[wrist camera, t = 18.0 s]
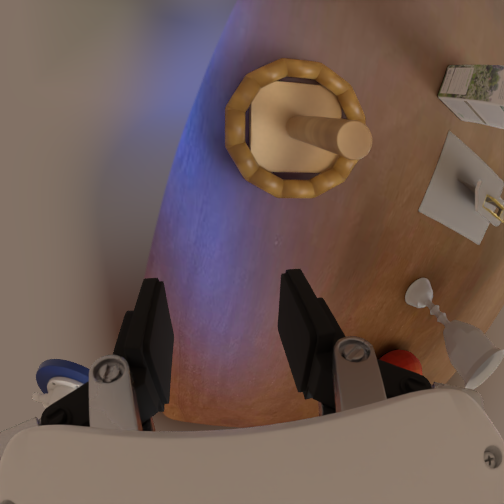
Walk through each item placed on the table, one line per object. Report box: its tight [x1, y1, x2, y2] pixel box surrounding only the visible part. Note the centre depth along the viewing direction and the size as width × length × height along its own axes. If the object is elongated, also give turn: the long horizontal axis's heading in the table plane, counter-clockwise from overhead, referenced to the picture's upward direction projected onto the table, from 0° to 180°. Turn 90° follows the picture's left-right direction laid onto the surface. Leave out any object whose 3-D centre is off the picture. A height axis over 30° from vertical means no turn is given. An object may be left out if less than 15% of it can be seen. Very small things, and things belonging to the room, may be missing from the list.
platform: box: [418, 131, 504, 245], centre depth 30 cm, size 12×18×7 cm, turn 71°
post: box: [249, 81, 372, 173], centre depth 21 cm, size 9×9×13 cm
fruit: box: [380, 350, 422, 375], centre depth 42 cm, size 10×10×10 cm
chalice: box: [405, 278, 504, 389], centre depth 31 cm, size 7×7×18 cm
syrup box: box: [438, 65, 504, 129], centre depth 19 cm, size 6×6×14 cm
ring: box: [225, 58, 366, 198], centre depth 25 cm, size 14×14×2 cm
